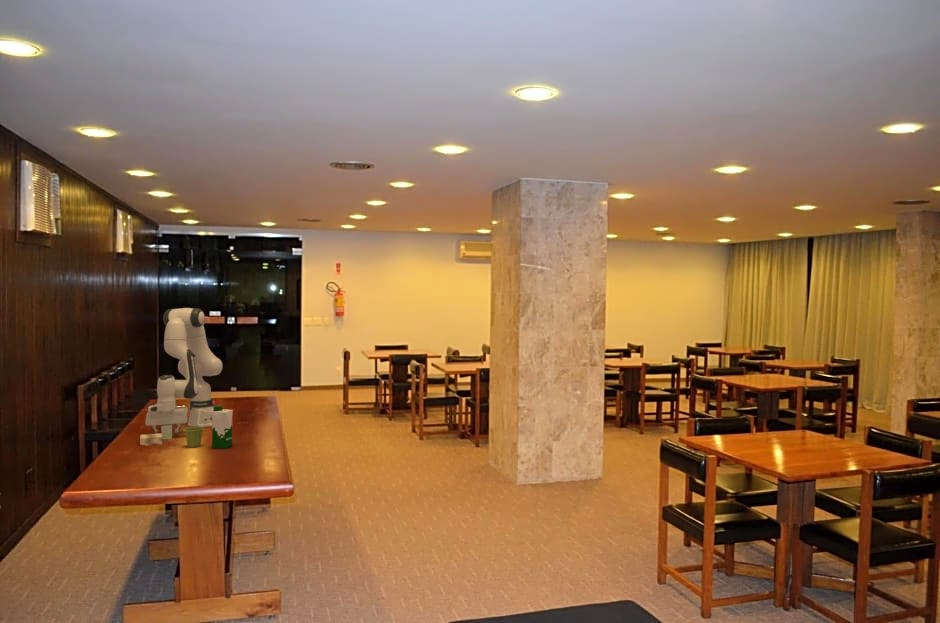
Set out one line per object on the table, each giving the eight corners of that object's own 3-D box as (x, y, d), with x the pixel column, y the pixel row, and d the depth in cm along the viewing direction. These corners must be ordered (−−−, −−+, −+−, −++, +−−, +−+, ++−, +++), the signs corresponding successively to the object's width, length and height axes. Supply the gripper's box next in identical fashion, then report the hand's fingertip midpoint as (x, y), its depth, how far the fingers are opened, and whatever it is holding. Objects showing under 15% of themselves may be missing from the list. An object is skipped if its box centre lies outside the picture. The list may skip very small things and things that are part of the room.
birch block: (161, 441, 364) (161, 433, 364) (162, 444, 355) (162, 436, 355) (140, 442, 360) (140, 434, 360) (140, 446, 351) (140, 438, 351)
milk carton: (218, 444, 354) (218, 404, 353) (235, 445, 352) (235, 405, 351) (209, 448, 345) (208, 407, 345) (225, 449, 343) (225, 408, 343)
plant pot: (179, 447, 348) (179, 429, 348) (194, 443, 357) (194, 426, 356) (192, 449, 344) (192, 431, 344) (208, 445, 352) (208, 428, 352)
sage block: (172, 437, 373) (172, 423, 373) (172, 438, 368) (171, 425, 368) (161, 437, 371) (161, 424, 371) (161, 439, 366) (161, 426, 366)
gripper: (188, 404, 376) (188, 430, 376) (145, 406, 368) (145, 433, 369) (187, 406, 370) (188, 432, 370) (144, 408, 363) (145, 435, 363)
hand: (166, 433), depth 370 cm, fingers open, 8 cm apart
